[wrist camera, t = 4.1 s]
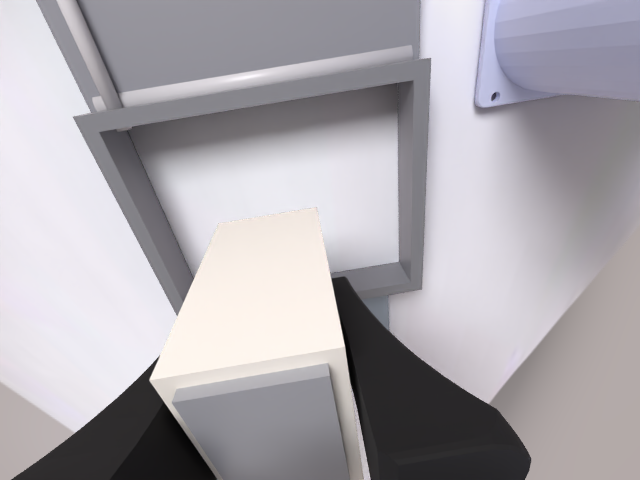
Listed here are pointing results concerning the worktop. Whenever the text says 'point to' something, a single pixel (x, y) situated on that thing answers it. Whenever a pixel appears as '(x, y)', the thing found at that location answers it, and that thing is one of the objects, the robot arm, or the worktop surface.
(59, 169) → the worktop surface
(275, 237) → the block
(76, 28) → the grey open frame tray
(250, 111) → the worktop surface
